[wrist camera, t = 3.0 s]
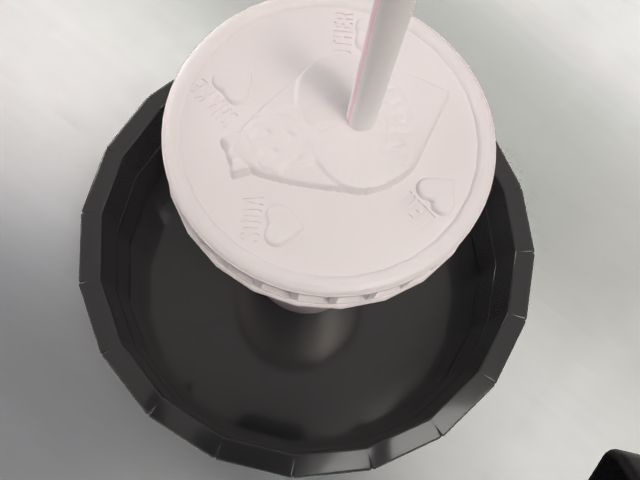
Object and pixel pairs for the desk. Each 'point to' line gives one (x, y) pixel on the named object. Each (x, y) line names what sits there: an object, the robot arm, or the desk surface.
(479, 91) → the smoothie
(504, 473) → the desk surface
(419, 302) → the pan
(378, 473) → the desk surface
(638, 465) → the robot arm
